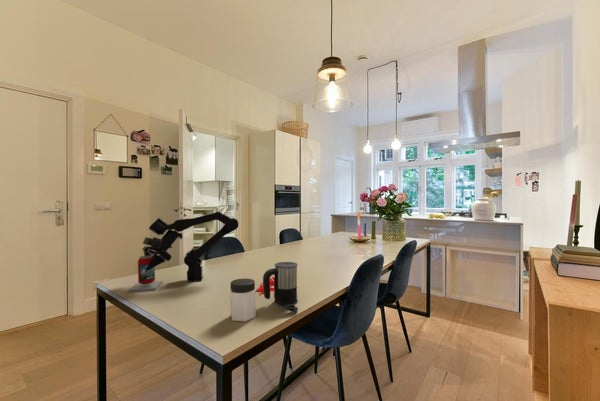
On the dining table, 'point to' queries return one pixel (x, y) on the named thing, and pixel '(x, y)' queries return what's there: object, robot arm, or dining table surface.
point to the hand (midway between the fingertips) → (143, 268)
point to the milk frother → (282, 285)
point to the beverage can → (144, 274)
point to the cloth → (261, 289)
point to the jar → (242, 299)
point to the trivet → (145, 286)
